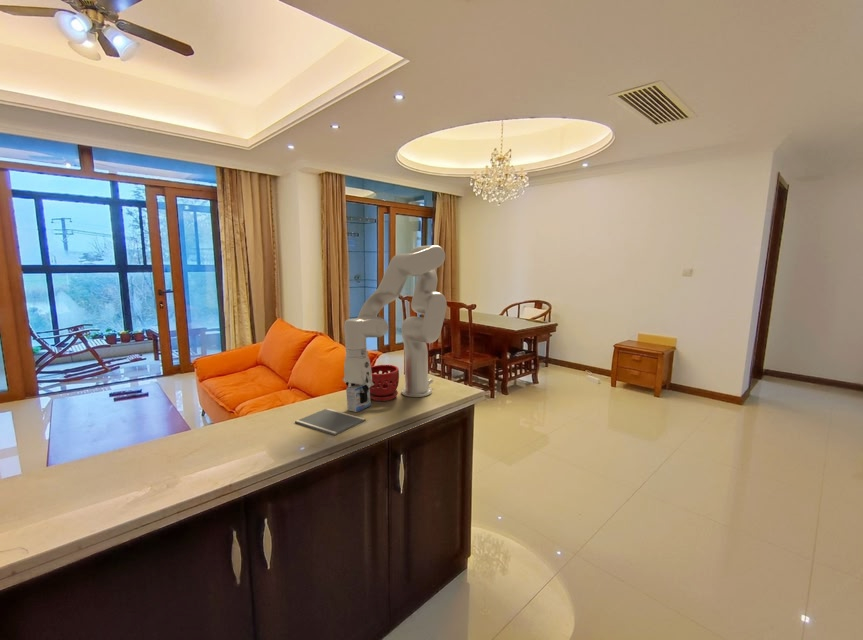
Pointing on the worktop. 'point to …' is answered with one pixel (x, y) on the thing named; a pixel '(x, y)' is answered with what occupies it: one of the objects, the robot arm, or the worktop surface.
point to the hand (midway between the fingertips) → (358, 400)
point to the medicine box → (356, 398)
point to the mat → (330, 421)
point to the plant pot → (384, 382)
